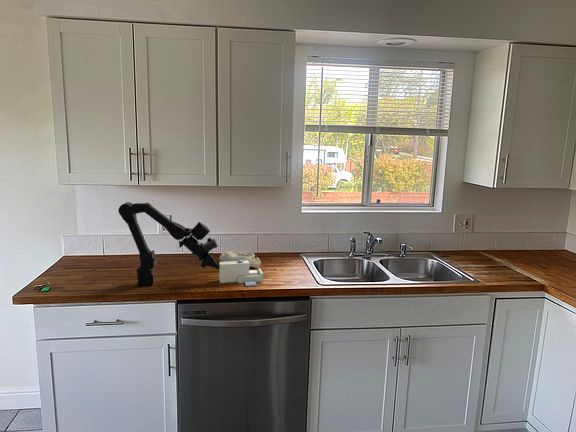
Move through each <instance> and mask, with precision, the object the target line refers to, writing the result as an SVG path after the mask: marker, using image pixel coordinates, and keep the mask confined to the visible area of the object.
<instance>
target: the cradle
mask: <svg viewBox="0 0 576 432" xmlns="http://www.w3.org/2000/svg"><path fill="white" fill-rule="evenodd" d="M256 271H257V273H258V275H254V276H238V282H237V284H243V283H244V285H245V287H247V286H248V287H257V285H258V284H257V283H263V282H264V272H263V271H262V269H261V268H259V267H258V268H257V270H256ZM248 287H247V288H248Z"/></svg>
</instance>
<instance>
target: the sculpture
mask: <svg viewBox="0 0 576 432" xmlns="http://www.w3.org/2000/svg"><path fill="white" fill-rule="evenodd" d="M255 256H256V255H255V253H252V252H248V253H247V252H246V253H245V252H241V251H240V250H236V249H232V250H230V251H224V252H222V253H221V254H220V256H219V258H218V260H219V261H220V262H229V261H238V260H243V261H249V268H251V267H252V268H254V269H256V268H257V269H258V268H259V267H260V266H261V264H262V261H261V259H260V258H259V257H255Z"/></svg>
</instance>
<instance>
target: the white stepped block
mask: <svg viewBox="0 0 576 432" xmlns="http://www.w3.org/2000/svg"><path fill="white" fill-rule="evenodd" d="M218 265H219V267H220V268H219V269H218V271H219V273H218V275H219V284H220V283H221V284H223V283H224V284H225V283H238V276H254V275H258V273H257V271H258V270H257V269H250V267H249V261H243V260H238V261H229V262H223V261H219V263H218Z"/></svg>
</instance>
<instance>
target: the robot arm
mask: <svg viewBox="0 0 576 432" xmlns="http://www.w3.org/2000/svg"><path fill="white" fill-rule="evenodd" d="M117 212H118V213H119V216H120V217H121V218H122V220H123V221H124V222H125V223H126V224H127V226H128V228H129V231H130V233H131V236H132V238H133V241H134V243H135V245H136V248H137V250H138V253H139V262H140V265H139V266H138V267H137V268H136V274H137V287H138V288H139V287H153V285H154V283H155V274H154V273H153V268H154V267H155V265H156V264H157V261H158V260H157V258H158V256H157V255H156V252H155V250H154V249H153V250H151V249H150V247H148V245H147V242H146V240H145V237H144V235H143V232H142V229H141V227H140V225H139V223H138V219H137V218H138V217H137V214H141V213H145V214H146V215H148V216H149V217H151V219H153V220H155V222H157V223H158V224H160V226H162V227H163V228H165V229H166V231H167V232H168V233H169V235H170V236H171V237H173V239H174V240H177V241H178V245H179V246H178V247H179V249H181V248H182V247H183V246H184V247H185V248H186V249H187V250H188V251H190V252H191V255H193V256H196V257H197V259H198V260H199V261H200V267H202V269H205V268H206V267H211V268H214V269H217V270H219V268H220V267H219V263H217V261H216V259H215V258H214V253H213V252H212V250H213V249H216V248H217V247H218V246H219V245H218V243H217V242H216V240H215V238H211V237H208V238H207V240H206V242H205V243H203V242H200V240H201V241H202V240H203V239H204V238H205V237H207V235H208V234H209V233H210V232H211V231H210V228H208V226H207V225H205V224H204V223H202V222H201V221H198V222H197V223H196V225H195V226H194V227H192V228H189V227H185V226H184V225H182V224H180V223H178V222H176V221H173V220H171V219H170V218H169V217H167V216H166V215H165V214H163V213H162V212H160V211H159V210H158V209H157V208H155V207H154V206H153V205H152V204H151V203H149V202H142V203H139V202H138V203H132V202H130V201H128V202H125V203H123V204H121V205H120V206H119V207H118V211H117ZM210 252H211V253H210Z"/></svg>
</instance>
